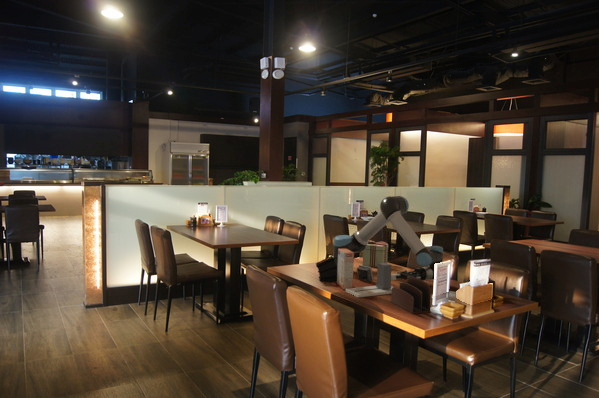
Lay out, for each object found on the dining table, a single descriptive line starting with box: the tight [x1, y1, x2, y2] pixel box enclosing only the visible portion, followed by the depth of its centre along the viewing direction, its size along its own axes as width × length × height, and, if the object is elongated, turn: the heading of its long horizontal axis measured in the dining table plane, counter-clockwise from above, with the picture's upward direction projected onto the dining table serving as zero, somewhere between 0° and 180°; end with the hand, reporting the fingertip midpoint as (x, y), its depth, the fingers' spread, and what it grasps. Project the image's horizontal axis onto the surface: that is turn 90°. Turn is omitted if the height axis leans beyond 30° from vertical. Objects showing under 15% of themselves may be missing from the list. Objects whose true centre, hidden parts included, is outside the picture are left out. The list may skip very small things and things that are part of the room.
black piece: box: [315, 255, 337, 283], centre depth 259 cm, size 4×13×15 cm, turn 99°
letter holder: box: [390, 276, 432, 315], centre depth 212 cm, size 10×20×14 cm, turn 18°
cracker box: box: [336, 249, 355, 291], centre depth 247 cm, size 14×6×21 cm, turn 9°
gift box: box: [362, 239, 389, 268], centre depth 310 cm, size 17×18×17 cm
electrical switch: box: [356, 264, 374, 283], centre depth 262 cm, size 9×5×9 cm, turn 44°
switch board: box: [345, 285, 393, 298], centre depth 237 cm, size 28×12×2 cm, turn 116°
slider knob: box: [375, 262, 392, 289], centre depth 240 cm, size 6×6×13 cm
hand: (390, 277), depth 241 cm, fingers closed
